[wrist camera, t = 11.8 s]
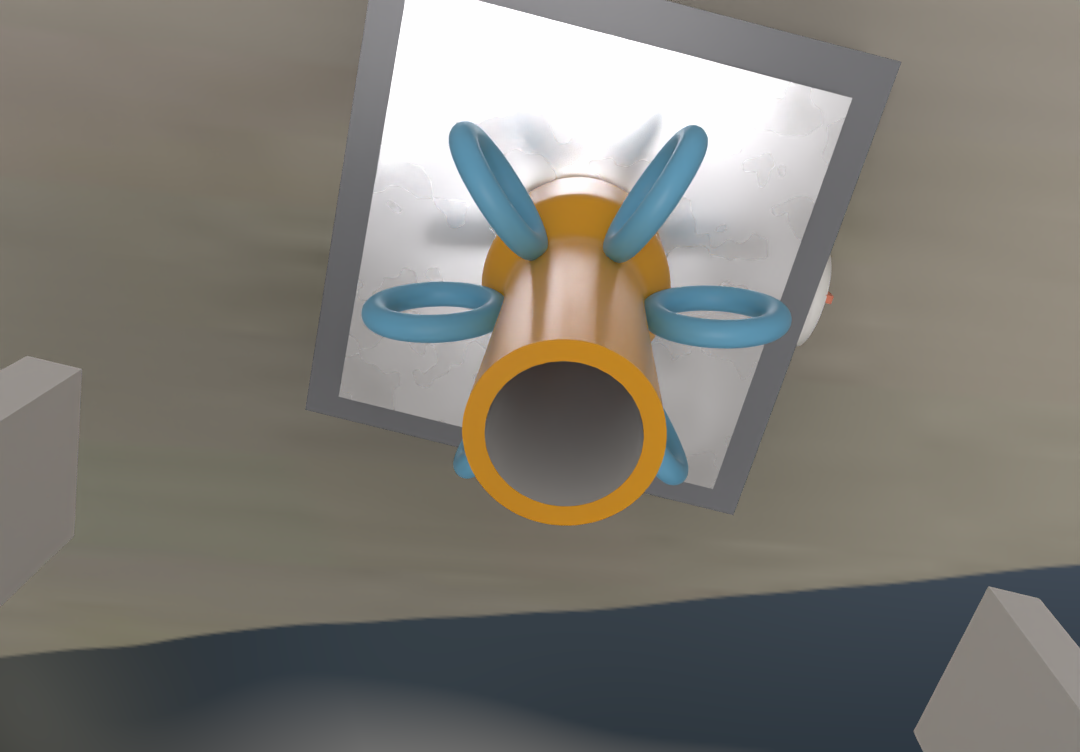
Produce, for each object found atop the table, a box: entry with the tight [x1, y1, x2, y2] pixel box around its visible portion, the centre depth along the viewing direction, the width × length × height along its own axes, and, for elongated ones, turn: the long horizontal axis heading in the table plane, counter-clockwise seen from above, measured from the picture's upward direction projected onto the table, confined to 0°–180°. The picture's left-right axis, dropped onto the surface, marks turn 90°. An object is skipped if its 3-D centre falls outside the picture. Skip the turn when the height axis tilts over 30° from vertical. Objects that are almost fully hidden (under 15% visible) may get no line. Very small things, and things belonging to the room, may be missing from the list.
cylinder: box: [361, 121, 792, 525], centre depth 24 cm, size 12×10×15 cm
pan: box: [339, 0, 852, 489], centre depth 33 cm, size 15×15×5 cm
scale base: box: [305, 0, 901, 515], centre depth 34 cm, size 19×18×5 cm
